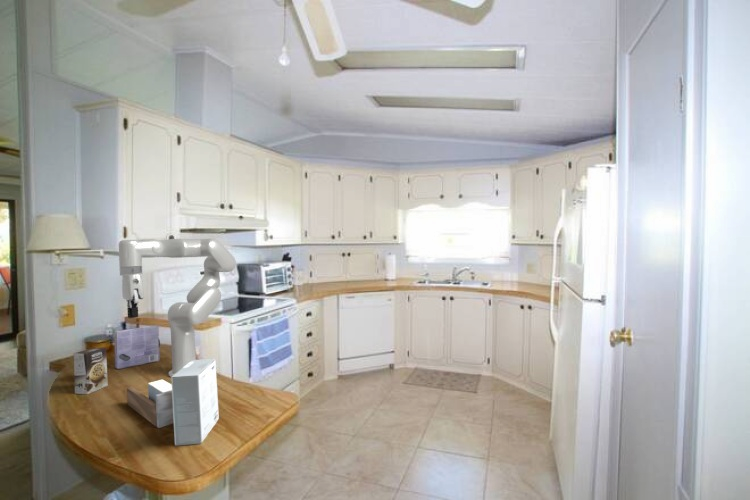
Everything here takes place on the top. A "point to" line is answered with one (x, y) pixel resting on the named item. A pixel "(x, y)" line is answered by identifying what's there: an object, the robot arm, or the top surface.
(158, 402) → the book rack
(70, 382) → the top surface
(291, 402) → the top surface
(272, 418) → the top surface
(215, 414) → the hard drive box
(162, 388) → the boxed book
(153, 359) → the cake pan box
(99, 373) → the coffee box
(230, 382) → the top surface
